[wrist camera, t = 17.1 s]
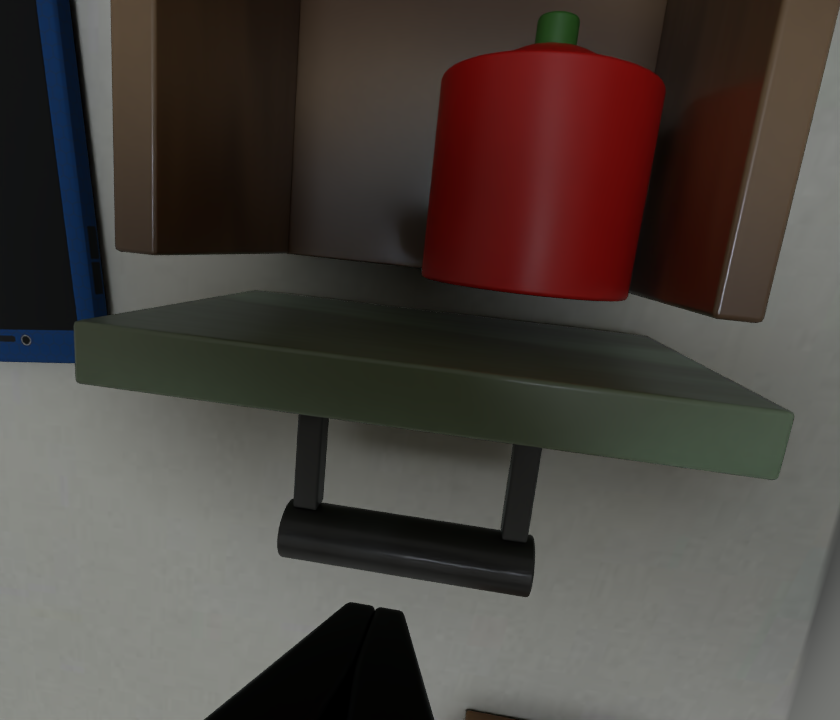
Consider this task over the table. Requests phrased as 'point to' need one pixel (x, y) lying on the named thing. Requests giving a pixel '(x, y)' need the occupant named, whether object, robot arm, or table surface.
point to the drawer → (405, 238)
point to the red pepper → (542, 168)
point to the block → (483, 716)
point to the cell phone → (44, 188)
